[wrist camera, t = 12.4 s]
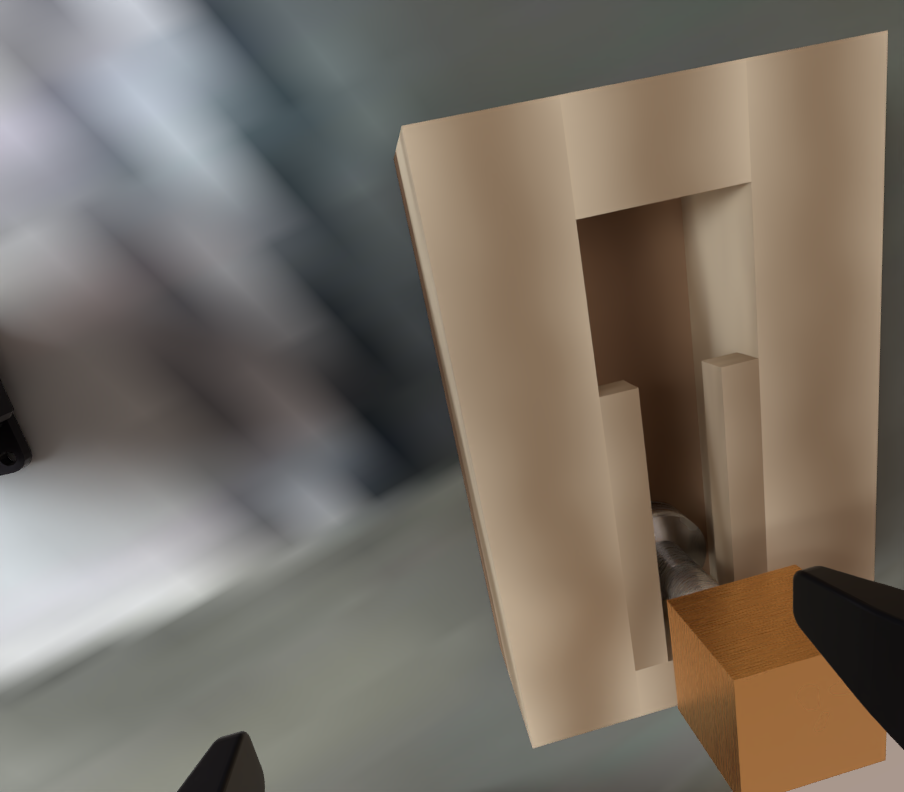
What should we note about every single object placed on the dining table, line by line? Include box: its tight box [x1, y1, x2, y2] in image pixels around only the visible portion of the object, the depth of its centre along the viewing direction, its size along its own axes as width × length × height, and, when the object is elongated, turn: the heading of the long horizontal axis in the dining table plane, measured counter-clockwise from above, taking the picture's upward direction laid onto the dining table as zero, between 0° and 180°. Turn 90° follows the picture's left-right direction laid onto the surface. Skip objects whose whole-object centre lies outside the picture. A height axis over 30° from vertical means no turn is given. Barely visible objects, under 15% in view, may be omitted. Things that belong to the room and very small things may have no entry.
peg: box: [651, 501, 886, 792], centre depth 17 cm, size 4×4×8 cm
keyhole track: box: [394, 31, 888, 748], centre depth 19 cm, size 13×20×5 cm, turn 11°
